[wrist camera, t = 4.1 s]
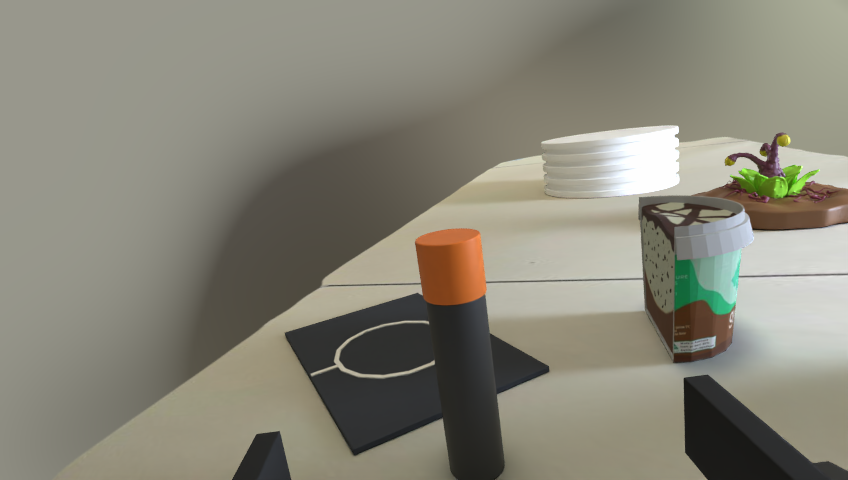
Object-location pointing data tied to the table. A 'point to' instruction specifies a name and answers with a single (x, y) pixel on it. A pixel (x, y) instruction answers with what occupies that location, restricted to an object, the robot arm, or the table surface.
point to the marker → (462, 350)
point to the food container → (692, 270)
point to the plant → (782, 193)
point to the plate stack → (611, 162)
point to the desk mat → (387, 369)
